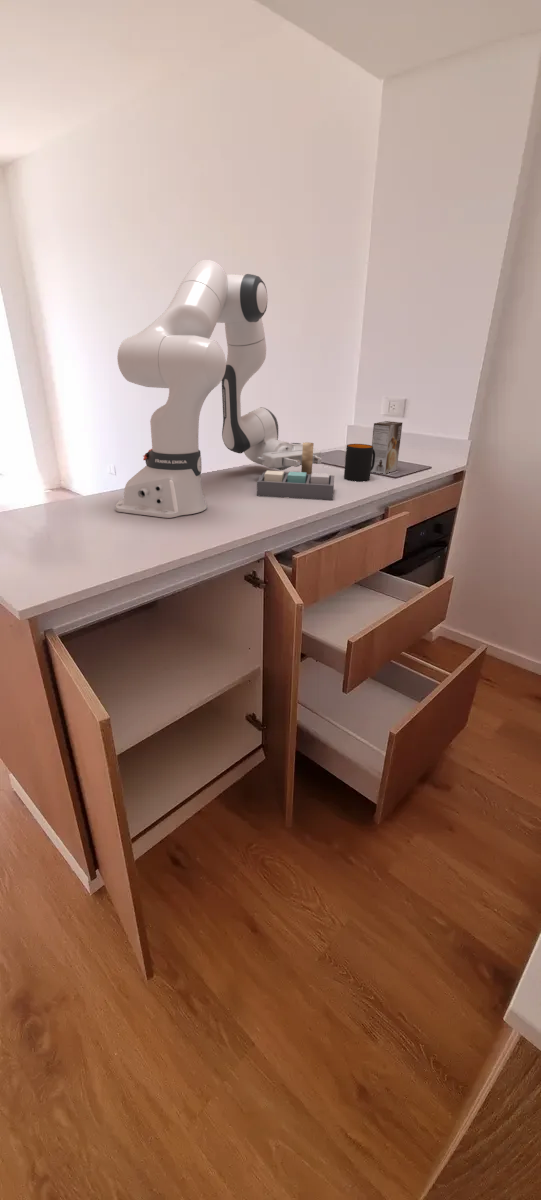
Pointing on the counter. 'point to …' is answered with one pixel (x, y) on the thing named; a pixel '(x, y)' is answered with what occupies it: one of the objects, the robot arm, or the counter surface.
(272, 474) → the key cream
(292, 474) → the key teal
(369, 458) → the mug
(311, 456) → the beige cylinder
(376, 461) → the coffee box
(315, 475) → the key grey
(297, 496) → the gray divided sorting tray
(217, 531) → the counter surface
